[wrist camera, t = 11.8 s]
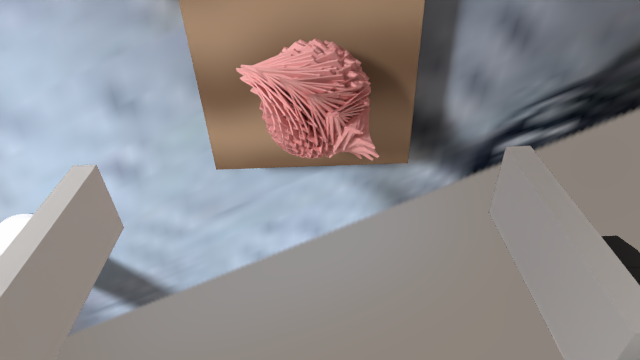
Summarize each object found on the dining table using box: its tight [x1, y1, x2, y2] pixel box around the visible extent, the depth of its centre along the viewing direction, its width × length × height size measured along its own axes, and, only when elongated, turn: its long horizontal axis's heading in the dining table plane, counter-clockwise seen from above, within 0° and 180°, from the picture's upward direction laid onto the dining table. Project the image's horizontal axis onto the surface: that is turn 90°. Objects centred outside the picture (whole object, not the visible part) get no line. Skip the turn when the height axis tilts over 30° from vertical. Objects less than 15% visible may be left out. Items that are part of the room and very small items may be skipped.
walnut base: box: [179, 0, 425, 169], centre depth 24 cm, size 12×12×4 cm
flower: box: [236, 38, 379, 160], centre depth 20 cm, size 8×8×6 cm
